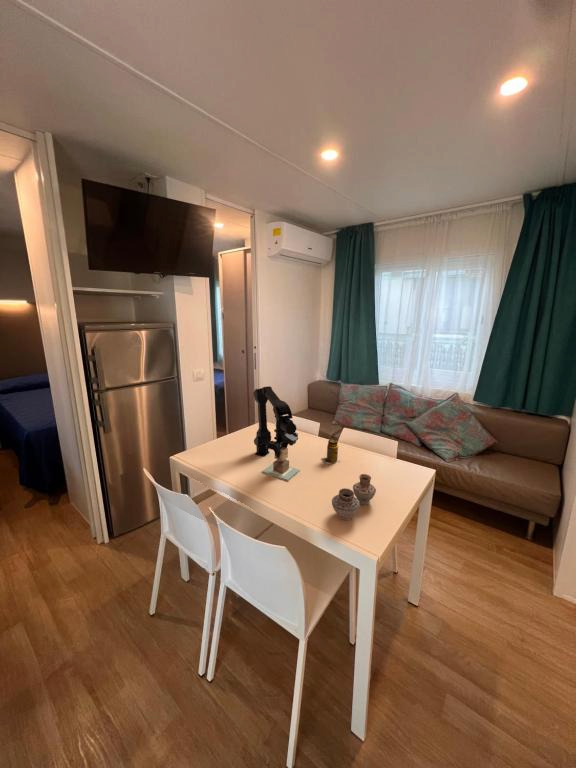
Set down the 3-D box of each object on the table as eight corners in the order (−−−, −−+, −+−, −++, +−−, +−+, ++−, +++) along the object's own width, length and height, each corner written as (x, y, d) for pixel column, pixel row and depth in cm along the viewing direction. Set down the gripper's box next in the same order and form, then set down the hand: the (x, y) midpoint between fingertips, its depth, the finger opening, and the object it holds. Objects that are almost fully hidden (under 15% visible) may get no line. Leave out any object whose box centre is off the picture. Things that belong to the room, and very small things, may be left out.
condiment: (340, 461, 170) (341, 442, 167) (327, 464, 166) (328, 444, 163) (333, 456, 176) (334, 437, 173) (320, 459, 172) (321, 439, 170)
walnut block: (273, 470, 157) (273, 462, 156) (279, 466, 162) (279, 457, 161) (282, 474, 154) (283, 465, 153) (288, 469, 159) (289, 460, 158)
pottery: (379, 501, 134) (382, 477, 131) (349, 529, 116) (350, 501, 113) (357, 491, 141) (359, 468, 139) (325, 515, 124) (326, 489, 121)
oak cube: (274, 458, 155) (274, 449, 154) (279, 454, 160) (279, 446, 158) (282, 460, 153) (282, 451, 152) (287, 457, 157) (287, 448, 156)
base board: (262, 472, 157) (262, 470, 157) (274, 463, 167) (274, 461, 167) (288, 481, 149) (288, 479, 149) (299, 471, 159) (299, 469, 159)
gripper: (285, 437, 141) (284, 467, 144) (304, 425, 156) (303, 452, 160) (265, 432, 146) (265, 461, 150) (285, 421, 162) (285, 448, 165)
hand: (281, 455), depth 156 cm, fingers closed on oak cube, 5 cm apart
